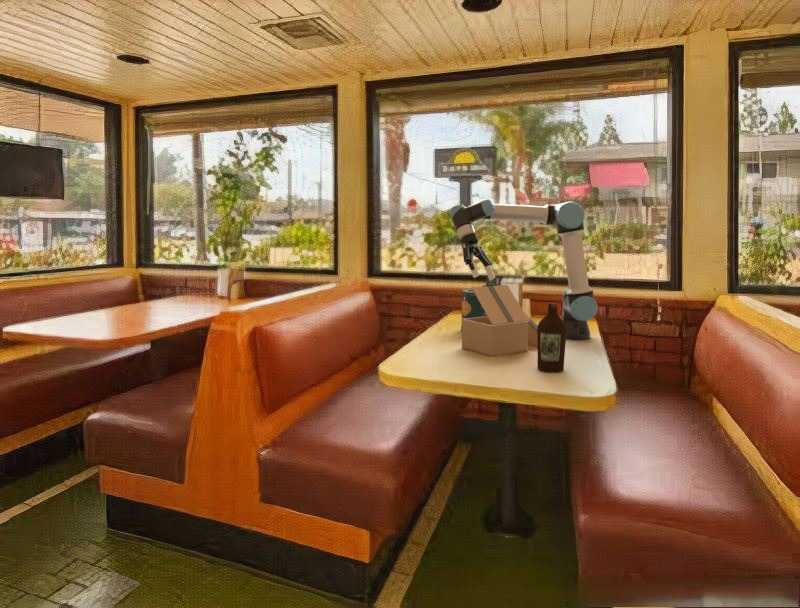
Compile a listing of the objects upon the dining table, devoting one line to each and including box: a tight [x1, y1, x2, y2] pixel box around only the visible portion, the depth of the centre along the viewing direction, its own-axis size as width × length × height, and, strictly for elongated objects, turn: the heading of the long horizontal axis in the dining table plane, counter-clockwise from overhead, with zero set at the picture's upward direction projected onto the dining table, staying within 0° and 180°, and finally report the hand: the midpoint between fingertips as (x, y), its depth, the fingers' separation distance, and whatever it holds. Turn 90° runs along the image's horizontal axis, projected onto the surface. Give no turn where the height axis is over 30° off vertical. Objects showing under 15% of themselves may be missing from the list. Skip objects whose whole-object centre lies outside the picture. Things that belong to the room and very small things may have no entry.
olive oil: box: [536, 302, 567, 373], centre depth 205 cm, size 11×11×25 cm
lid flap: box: [471, 284, 528, 325], centre depth 235 cm, size 20×20×1 cm
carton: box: [461, 316, 529, 357], centre depth 240 cm, size 20×20×13 cm
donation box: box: [460, 275, 502, 332], centre depth 282 cm, size 16×16×28 cm
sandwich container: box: [523, 310, 538, 348], centre depth 249 cm, size 9×15×15 cm, turn 70°
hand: (484, 277), depth 245 cm, fingers open, 13 cm apart
